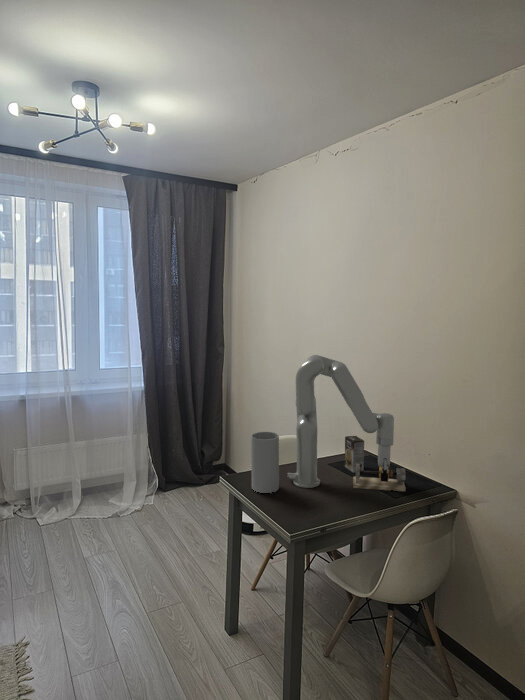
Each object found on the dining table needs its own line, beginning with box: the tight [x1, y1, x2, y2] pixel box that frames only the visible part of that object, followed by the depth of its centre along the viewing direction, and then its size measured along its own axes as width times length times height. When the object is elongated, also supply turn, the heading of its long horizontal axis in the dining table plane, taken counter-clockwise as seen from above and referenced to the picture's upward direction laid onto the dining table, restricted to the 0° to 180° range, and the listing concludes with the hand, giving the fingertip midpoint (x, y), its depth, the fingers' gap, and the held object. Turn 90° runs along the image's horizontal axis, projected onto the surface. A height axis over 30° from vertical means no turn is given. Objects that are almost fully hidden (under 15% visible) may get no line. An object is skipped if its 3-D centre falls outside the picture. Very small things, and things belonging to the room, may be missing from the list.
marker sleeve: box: [378, 466, 390, 480], centre depth 212 cm, size 4×4×4 cm
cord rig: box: [352, 464, 407, 492], centre depth 213 cm, size 23×10×9 cm, turn 79°
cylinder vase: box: [250, 431, 280, 494], centre depth 209 cm, size 12×12×25 cm
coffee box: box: [344, 435, 365, 474], centre depth 233 cm, size 9×6×16 cm
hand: (384, 478), depth 212 cm, fingers closed on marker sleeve, 4 cm apart
